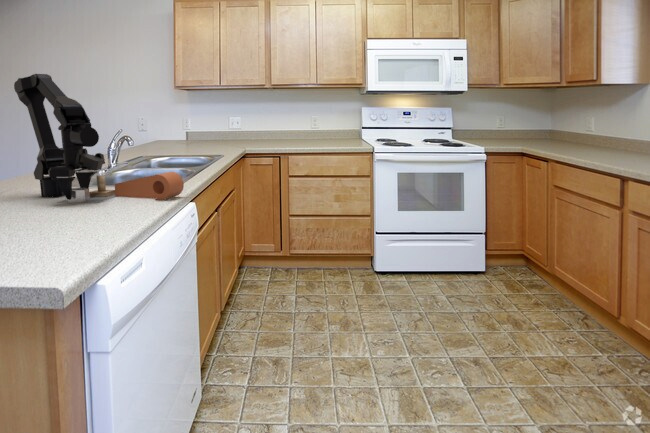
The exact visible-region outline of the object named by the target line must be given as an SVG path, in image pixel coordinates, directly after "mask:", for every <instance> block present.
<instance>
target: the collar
mask: <svg viewBox="0 0 650 433" xmlns="http://www.w3.org/2000/svg"><path fill="white" fill-rule="evenodd" d="M89 192H90V187H89V188H80V187H72V197H71V200H67V198H66V197H65V196H64V200H65V201H66V202H84V201H88V200H90V194H89Z"/></svg>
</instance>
